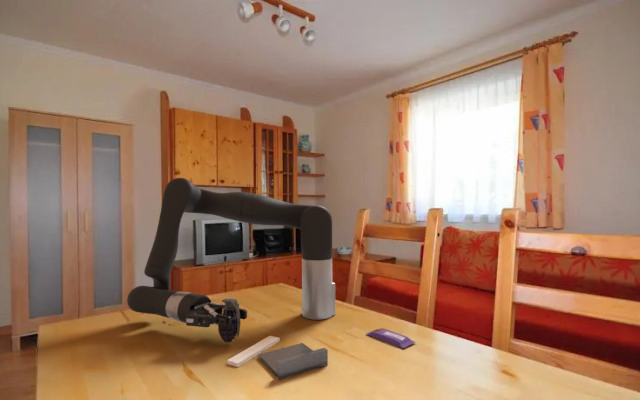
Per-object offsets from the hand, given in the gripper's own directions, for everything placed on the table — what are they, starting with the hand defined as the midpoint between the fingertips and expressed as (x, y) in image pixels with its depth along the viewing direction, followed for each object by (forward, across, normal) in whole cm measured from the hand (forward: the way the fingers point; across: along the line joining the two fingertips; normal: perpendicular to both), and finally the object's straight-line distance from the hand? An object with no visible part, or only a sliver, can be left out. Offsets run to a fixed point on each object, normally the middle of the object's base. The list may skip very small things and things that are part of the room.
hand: (238, 317), depth 79 cm
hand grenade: (-3, 0, +6) cm, 7 cm away
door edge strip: (+5, 0, +7) cm, 9 cm away
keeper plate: (+15, 0, +7) cm, 17 cm away
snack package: (+30, +21, +8) cm, 38 cm away
